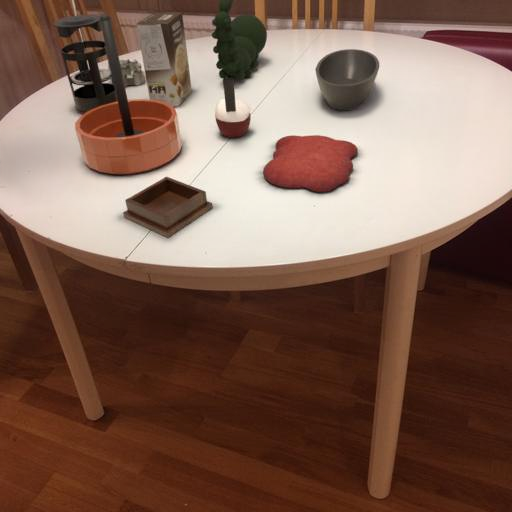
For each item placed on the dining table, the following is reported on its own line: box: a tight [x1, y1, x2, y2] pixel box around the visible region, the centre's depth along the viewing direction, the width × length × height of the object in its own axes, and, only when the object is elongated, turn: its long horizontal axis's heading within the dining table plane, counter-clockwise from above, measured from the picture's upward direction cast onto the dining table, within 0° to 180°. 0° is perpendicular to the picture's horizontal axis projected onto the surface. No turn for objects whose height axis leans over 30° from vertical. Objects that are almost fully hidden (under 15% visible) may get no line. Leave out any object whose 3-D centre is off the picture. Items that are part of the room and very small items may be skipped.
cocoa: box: [214, 77, 252, 139], centre depth 91 cm, size 10×6×12 cm, turn 158°
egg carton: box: [107, 58, 145, 88], centre depth 121 cm, size 11×8×4 cm
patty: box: [262, 134, 358, 193], centre depth 84 cm, size 18×14×2 cm
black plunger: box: [99, 13, 145, 137], centre depth 84 cm, size 6×6×22 cm
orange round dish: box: [74, 98, 183, 175], centre depth 89 cm, size 17×17×6 cm
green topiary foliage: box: [211, 0, 268, 80], centre depth 117 cm, size 9×19×25 cm
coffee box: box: [136, 11, 193, 108], centre depth 106 cm, size 9×6×16 cm
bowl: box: [315, 48, 380, 112], centre depth 104 cm, size 12×22×6 cm, turn 167°
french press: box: [53, 0, 117, 115], centre depth 103 cm, size 12×9×23 cm
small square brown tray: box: [122, 176, 214, 238], centre depth 74 cm, size 9×9×3 cm
